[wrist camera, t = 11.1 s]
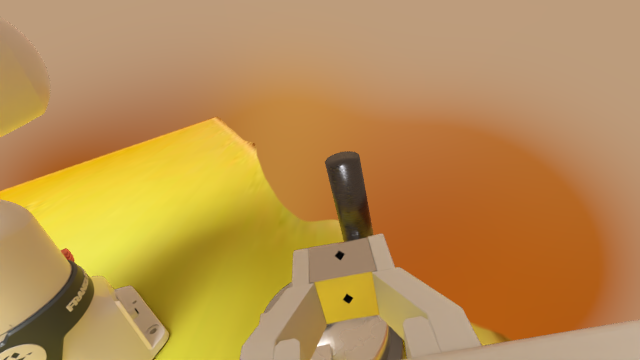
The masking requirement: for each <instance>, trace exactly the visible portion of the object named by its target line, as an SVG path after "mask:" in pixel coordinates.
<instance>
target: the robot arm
mask: <svg viewBox="0 0 640 360" xmlns="http://www.w3.org/2000/svg"><path fill="white" fill-rule="evenodd" d="M49 98H50V80H49V75H48V71H47V68H46V66H45V64H44V62H43V60H42V58H41V56H40V54H39V53H38V51H37V50H36V48H35V47H34V46H33V45H32V43H31V42H30V41H29V40H28V39H27V38H26V37H25V36H24V35H23V34H22V33H21V32H20V31H19V30H18V29H16V28H15V27H14V26H13V25H11V24H10V23H9V22H7V21H6V20H4V19H3V18H1V17H0V137H2V136H4V135H6V134H7V133H10V132H12V131H13V130H15V129H17V128H19V127H21V126H23V125H25V124H26V123H28V122H30V121H32V120H33V119H35V118H37V117H39V116H40V115H42V114H44V113H45V111H46V108H47V106H48V102H49ZM375 315H380V317H381V318H382V319H383V320H384V321H385V322H386V323H387V324H388V325H389V326H390V327H391V328H392V329H393V330H394V331H395V332H396V333H397V334H398V335H399V336H400V337H401V338H402V339H403V340H404V341H405V348H406V356H407V359H402V360H640V319H638V320H633V321H627V322H621V323H615V324H609V325H603V326H597V327H591V328H585V329H579V330H573V331H567V332H562V333H555V334H550V335H544V336H538V337H532V338H526V339H520V340H514V341H508V342H502V343H496V344H490V345H484V346H482V345H481V343H480V341H479V339H478V338H477V336H476V334H475V332H474V330H473V328H472V326H471V324H470V322H469V320H468V318H467V317H466V315H465V313H464V311H463V309H462V308H461V307H460V306H458V305H457V304H455V303H454V302H452V301H451V300H449V299H448V298H446V297H445V296H443V295H442V294H440V293H438V292H437V291H435V290H434V289H432V288H431V287H429V286H428V285H426V284H425V283H423V282H422V281H420V280H419V279H417V278H416V277H414V276H413V275H411V274H410V273H408V272H407V271H405V270H403V269H402V268H400V267H397V268H395V266H394V263H393V260H392V257H391V255H390V252H389V249H388V246H387V243H386V240H385V237H384V235H383V234H377V235H373V236H368V238H367V237H365V238H360V239H355V240H350V241H345V242H340V243H334V244H328V245H322V246H316V247H310V248H305V249H300V250H294V253H293V269H292V287H290V288H287V289H286V290H285V292H284V293H283V294H282V296H281V297H280V298H279V299H278V301H277V302H276V303H275V305H274V306H273V307H272V308H271V310H270V311H269V312H268V314H267V315H266V316H265V317H264V319H263V320H262V321H261V323H260V324H259V325H258V326H257V328H256V329H255V330H254V332H253V333H252V334H251V336H250V337H249V338H248V339H247V341H246V342H245V343H244V345H243V346H242V350H241V355H240V360H311V358H312V356H313V354H314V352H315V350H316V348H317V345H318V343H319V341H320V339H321V337H322V335H323V333H324V331H325V329H326V327H327V325H326V324H330V323H335V322H340V321H345V320H349V319H355V318H361V317H368V316H375ZM168 337H169V333H168V331H167V330H166V328H165V327H164V326H163V325H162V323H161V322H160V321H159V319H158V318H157V317H156V315H155V314H154V313H153V312H152V310H151V309H150V308H149V306H148V305H147V304H146V303H145V301H144V300H143V299H142V297H141V296H140V295H139V294H138V292H137V291H136V290H135V289H134V288H133V287H132V286H126V287H122V288H118V289H115V290H114V289H113V288H112V286H111V285H110V284H109V282H108V281H107V280H106V278H105V277H103V276H92V277H89V276H88V275H87V273H86V272H85V271H84V270H83V269H82V268H81V267H80V266H78V265H77V264H76V263H74V258H73V255H72V254H71V252H70V251H69V250H68V249H66V248H65V249H63V250H61V251H60V250H59V249H58V247H57V246H56V245H55V243H54V242H53V241H52V239H51V238H50V237H49V236H48V234H47V233H46V232H45V230H44V229H43V228H42V226H41V225H40V224H39V222H38V221H37V220H36V219H35V217H34V216H33V215H32V214H31V213H30V212H29V211H28V210H27V209H25V208H23V207H22V206H20V205H17V204H15V203H12V202H9V201H4V200H0V360H153V358H154V357H155V355H156V354H157V353H158V352H159V350H160V349H161V348H162V347H163V345H164V344H165V343H166V341H167V339H168Z"/></svg>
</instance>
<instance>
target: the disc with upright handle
mask: <svg viewBox="0 0 640 360" xmlns="http://www.w3.org/2000/svg"><path fill="white" fill-rule="evenodd" d="M325 164H326V168H327V172H328V176H329V181H330V185H331V189H332V193H333V198H334V202H335V206H336V210H337V214H338V219H339V223H340V227H341V231H342V236H343V240H344V242H345V241H350V240H355V239H360V238H365V237H367V238H368V236H373V229H372V224H371V218H370V213H369V207H368V202H367V196H366V191H365V185H364V179H363V174H362V168H361V163H360V157H359V154H357V153H355V152H340V153H337V154H334V155H332V156H330V157H329V158H327V160H326V161H325ZM290 287H292V282H291V283H289V284H288V285H286V286H285V287H284V288H283V289H282V290H280V291H279V292H278V293H277V294H276V295H275V296H274V298H273V299H272V300H271V301H270V303H269V304H268V306H267V307H266V309H265V311H264V313H262V314H261V316H260V323H261V321H262V320H263V319H264V317H265V316H266V315H267V314H268V312H269V311H270V310H271V308H272V307H273V306H274V305H275V303H276V302H277V301H278V299H279V298H280V297H281V296H282V294H283V293H284V292H285V290H286V289H287V288H290ZM260 323H259V324H260ZM326 325H327V327H326V329H325V331H324V333H323V335H322V337H321V339H320V341H319V343H318V345H317V348H316V350H315V352H314V354H313V356H312V358H311V360H387V358H388V355H389V351H390V343H391V337H390V329H389V325H388V324H387V323H386V322H385V321H384V320H383V319H382V318H381V317H380V315H375V316H368V317H361V318H355V319H349V320H345V321H340V322H335V323H330V324H326Z"/></svg>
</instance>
